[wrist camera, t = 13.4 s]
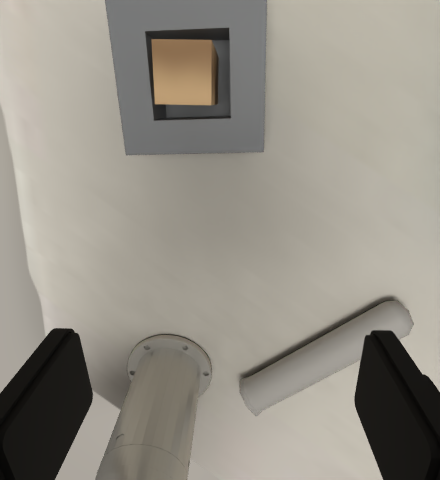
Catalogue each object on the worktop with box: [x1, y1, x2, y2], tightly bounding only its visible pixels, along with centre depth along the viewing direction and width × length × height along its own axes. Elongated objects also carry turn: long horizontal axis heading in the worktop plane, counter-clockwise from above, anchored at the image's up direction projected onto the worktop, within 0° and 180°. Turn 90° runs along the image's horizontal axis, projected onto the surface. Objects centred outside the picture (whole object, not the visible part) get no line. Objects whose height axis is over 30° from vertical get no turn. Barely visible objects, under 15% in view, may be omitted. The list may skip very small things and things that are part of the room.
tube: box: [240, 301, 414, 416], centre depth 46 cm, size 5×5×25 cm
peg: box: [151, 39, 219, 105], centre depth 30 cm, size 4×4×10 cm
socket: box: [105, 0, 267, 155], centre depth 32 cm, size 13×13×7 cm
